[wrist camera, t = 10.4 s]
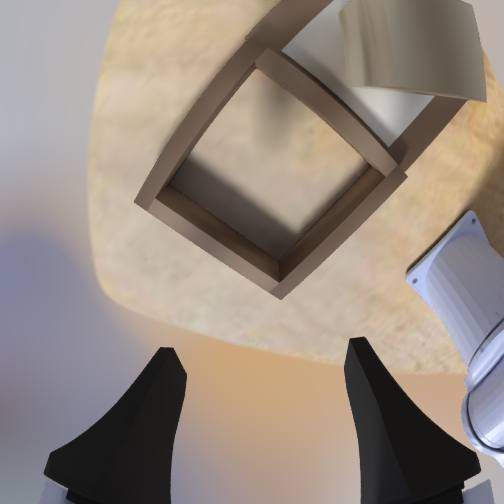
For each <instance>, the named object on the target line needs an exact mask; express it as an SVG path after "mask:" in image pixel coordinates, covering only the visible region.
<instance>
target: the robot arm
mask: <svg viewBox="0 0 504 504" xmlns="http://www.w3.org/2000/svg"><path fill="white" fill-rule="evenodd" d="M472 220H473V221H472ZM405 278H406V280H407V282H408V283H409V284H410V285H411V286H412V287H413V288H414V289H415V290H416V291H417V293H418V294H419V295H420V296H421V297H422V298H423V299H424V300H425V301H426V303H427V304H428V305H429V306H430V307H431V308H432V309H433V310H434V312H435V313H436V314H437V315H438V316H439V317H440V319H441V320H442V322H443V323H444V325H445V327H446V329H447V331H448V332H449V334H450V336H451V338H452V340H453V342H454V344H455V345H456V347H457V349H458V351H459V353H460V355H461V357H462V359H463V361H464V363H465V365H466V367H467V370H468V372H469V373H468V375H467V376H466V378H465V379H464V383H465V385H466V388H467V390H468V392H467V393H466V395H465V397H464V399H463V403H462V408H461V418H462V425H463V428H464V431H465V434H466V436H467V438H468V439H469V441H470V442H471V444H472V445H473V446H474V447H475V448H476V449H477V450H479V451H480V452H482V453H485V454H488V455H490V456H492V457H494V458H495V459H496V460H497V461H498V462H499V463H500V464H501V466H502V467H503V468H504V259H503V258H502V257H501V256H500V255H499V254H498V253H497V252H496V251H495V250H494V249H493V248H492V247H491V246H490V243H489V241H488V239H487V237H486V234H485V232H484V230H483V228H482V226H481V224H480V222H479V220H478V217H477V215H476V214H475V212H474V211H473V210H468V211H467V212H466V213H465V215H464V216H463V217H462V218H461V219H460V220H459V221H458V222H457V223H456V225H455V226H454V227H453V228H452V229H451V230H450V231H449V232H448V233H447V234H446V235H445V236H444V237H443V238H442V239H441V240H440V241H439V242H438V243H437V244H436V245H435V246H434V247H433V248H432V249H431V250H430V251H429V252H428V253H427V254H426V255H425V256H424V257H423V258H422V259H421V260H420V261H419V262H418V263H417V264H416V265H415V266H414V267H413V268H412V269H411V270H409V271H408V272H407V274H406V276H405ZM415 278H416V279H415ZM413 279H415V280H413ZM344 373H345V380H346V388H347V393H348V397H349V401H350V406H351V410H352V413H353V418H354V422H355V427H356V431H357V437H358V444H359V455H360V470H361V504H494V498H493V493H492V487H491V482H490V480H486V481H484V482H482V483H480V484H479V485H477V486H475V487H473V488H471V489H468V490H466V491H463V492H462V490H461V489H463V488H464V487H465V486H464V481H465V480H467V479H469V478H471V477H473V476H475V475H477V474H479V473H480V472H481V467H480V463H479V459H478V457H477V454H476V452H474V451H472V450H470V449H469V448H467V447H466V446H464V445H462V444H461V443H459V442H458V441H457V440H455V439H454V438H453V437H451V436H450V435H448V434H447V433H446V432H445V431H444V430H442V429H441V428H440V427H439V426H438V425H436V424H435V423H434V422H433V421H431V419H430V418H429V417H427V416H426V415H425V414H424V413H423V412H422V411H421V410H420V409H419V408H418V407H417V406H416V405H415V404H414V402H413V401H412V400H411V399H410V398H409V397H408V396H407V394H406V393H405V392H404V391H403V390H402V388H401V387H400V386H399V385H398V383H397V382H396V381H395V380H394V378H393V377H392V376H391V374H390V373H389V372H388V370H387V369H386V367H385V366H384V365H383V363H382V362H381V360H380V359H379V357H378V356H377V354H376V353H375V351H374V350H373V348H372V347H371V345H370V344H369V342H368V340H367V339H366V338H365V337H357V338H350V339H349V345H348V350H347V355H346V360H345V365H344ZM186 380H187V374H186V372H185V370H184V368H183V366H182V364H181V362H180V360H179V358H178V357H177V354H176V352H175V350H174V348H169V347H167V348H165V347H160V348H159V350H158V351H157V352H156V353H155V355H154V356H153V357H152V359H151V360H150V362H149V363H148V364H147V366H146V367H145V368H144V370H143V371H142V372H141V374H140V375H139V376H138V377H137V379H136V380H135V381H134V383H133V384H132V385H131V386H130V388H129V389H128V390H127V391H126V392H125V394H124V395H123V396H122V397H121V398H120V400H119V401H118V402H117V403H116V404H115V405H114V406H113V407H112V408H111V409H110V410H109V411H108V412H107V413H106V414H105V415H104V416H103V417H102V418H101V419H100V420H99V421H97V422H96V423H95V424H94V425H93V426H91V427H90V428H89V429H88V430H87V431H85V432H84V433H82V434H81V435H80V436H78V437H77V438H75V439H74V440H72V441H71V442H69V443H68V444H66V445H64V446H62V447H61V448H59V449H57V450H55V451H53V452H51V453H50V455H49V458H48V461H47V464H46V467H45V470H44V475H45V476H47V477H48V478H50V479H52V480H53V481H55V482H57V483H59V484H61V485H63V486H64V487H66V488H68V490H67V489H65V488H62V487H60V486H59V485H57V484H55V483H53V482H51V481H49V480H46V481H45V484H44V488H43V491H42V495H41V499H40V502H39V504H171V494H170V486H171V484H170V483H171V482H170V481H171V463H172V451H173V444H174V438H175V434H176V430H177V426H178V422H179V418H180V413H181V409H182V405H183V401H184V397H185V390H186Z"/></svg>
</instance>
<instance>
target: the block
mask: <svg viewBox="0 0 504 504" xmlns="http://www.w3.org/2000/svg"><path fill="white" fill-rule="evenodd" d="M338 16H339V22H340V27H341V33H342V40H343V46H344V54H345V61H346V69H347V79H348V88H357V89H374V90H387V91H397V92H405V93H413V94H420V95H433V96H444V97H453V98H461V99H468V100H474V101H480V102H486V103H487V98H486V82H485V71H484V63H483V55H482V49H481V43H480V37H479V32H478V28H477V23H476V19H475V15H474V11H473V8H472V5H470V4H468V3H466V2H463V1H461V0H351V1H350V2H349V3H348V4H347V5H346V6H345V7H344V8H343V9H342V10H341V11H340V12H339V13H338Z"/></svg>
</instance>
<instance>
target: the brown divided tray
mask: <svg viewBox="0 0 504 504" xmlns="http://www.w3.org/2000/svg"><path fill="white" fill-rule="evenodd" d="M350 1H351V0H282V1H281V2H280V3H279V4H278V5H277V6H276V7H274V8H273V9H272V10H271V11H270V12H269V13H268V14H267V15H266V16H265V17H264V18H263V19H262V20H261V21H260V22H259V23H258V24H257V25H256V26H255V27H254V28H253V29H252V31H251V32H250V33H249V34H248V35H247V36H246V37H245V40H246V42H245V43H244V44H243V45H242V47H241V48H240V49H239V50H238V51H237V52H236V53H235V55H234V56H233V57H232V58H231V59H230V60H229V62H228V63H227V64H226V65H225V66H224V68H223V69H222V70H221V71H220V72H219V74H218V75H217V76H216V77H215V79H214V80H213V81H212V82H211V84H210V85H209V86H208V88H207V89H206V90H205V91H204V93H203V94H202V95H201V97H200V98H199V99H198V101H197V102H196V103H195V105H194V106H193V108H192V109H191V110H190V112H189V113H188V115H187V116H186V117H185V119H184V120H183V122H182V123H181V125H180V126H179V128H178V129H177V131H176V132H175V134H174V135H173V137H172V138H171V140H170V141H169V143H168V144H167V146H166V147H165V149H164V151H163V152H162V154H161V155H160V157H159V159H158V160H157V162H156V164H155V165H154V167H153V169H152V170H151V172H150V174H149V175H148V177H147V179H146V181H145V182H144V184H143V186H142V188H141V189H140V191H139V193H138V195H137V197H136V199H135V200H134V203H136V204H137V205H139V206H140V207H141V208H143V209H144V210H146V211H147V212H149V213H150V214H152V215H153V216H154V217H156V218H157V219H159V220H160V221H162V222H163V223H165V224H166V225H168V226H169V227H170V228H172V229H173V230H175V231H176V232H178V233H179V234H181V235H182V236H184V237H185V238H187V239H188V240H190V241H191V242H193V243H194V244H196V245H197V246H199V247H200V248H202V249H203V250H205V251H206V252H208V253H209V254H211V255H212V256H214V257H215V258H217V259H218V260H220V261H221V262H223V263H224V264H226V265H227V266H229V267H230V268H232V269H233V270H235V271H236V272H238V273H239V274H241V275H242V276H244V277H246V278H247V279H249V280H250V281H252V282H253V283H255V284H256V285H258V286H259V287H261V288H263V289H264V290H266V291H267V292H269V293H270V294H272V295H273V296H275V297H277V298H278V299H280V300H282V299H283V298H284V297H285V296H286V295H287V294H289V293H290V292H291V291H292V290H293V289H294V288H295V287H296V286H297V285H299V284H300V283H301V282H302V281H303V280H304V279H305V278H306V277H307V276H308V275H310V274H311V273H312V272H313V271H314V270H315V269H316V268H317V267H318V266H319V265H320V264H321V263H322V262H324V261H325V260H326V259H327V258H328V257H329V256H330V255H331V254H332V253H333V252H334V251H335V250H336V249H337V248H338V247H339V246H340V245H341V244H342V243H344V242H345V241H346V240H347V239H348V238H349V237H350V236H351V235H352V234H353V233H354V232H355V231H356V230H357V229H358V228H359V227H360V226H361V225H362V224H363V223H364V222H365V221H366V220H367V219H368V218H369V217H370V216H371V215H372V214H373V213H374V212H375V211H376V210H377V209H378V208H379V207H380V206H381V205H382V204H383V203H384V202H385V201H386V200H387V198H388V197H389V196H390V195H391V194H392V193H393V192H394V191H395V190H396V189H397V188H398V187H399V186H400V185H401V184H402V183H403V182H404V181H405V179H406V178H407V177H408V176H407V175H406V174H405V173H404V172H405V171H406V170H407V169H408V168H409V167H410V166H411V165H412V164H413V163H414V161H415V160H416V159H417V158H418V157H419V156H420V155H421V154H422V153H423V151H424V150H425V149H426V148H427V147H428V146H429V145H430V144H431V142H432V141H433V140H434V139H435V138H436V137H437V136H438V134H439V133H440V132H441V131H442V130H443V129H444V127H445V126H446V125H447V124H448V123H449V122H450V120H451V119H452V118H453V117H454V116H455V114H456V113H457V112H458V111H459V110H460V108H461V107H462V106H463V105H464V103H465V102H466V101H467V100H468V99H461V98H453V97H444V96H433V95H420V94H413V93H405V92H397V91H387V90H374V89H357V88H348V79H347V69H346V61H345V54H344V46H343V40H342V33H341V27H340V22H339V16H338V13H339V12H340V11H341V10H342V9H343V8H344V7H345V6H346V5H347V4H348V3H349V2H350ZM256 68H257V69H259V70H260V71H262V72H263V73H265V74H266V75H267V76H269V77H270V78H271V79H273V80H274V81H276V82H277V83H278V84H280V85H281V86H282V87H284V88H285V89H286V90H287V91H289V92H290V93H291V94H293V95H294V96H295V97H296V98H298V99H299V100H300V101H301V102H303V103H304V104H305V105H306V106H307V107H309V108H310V109H311V110H312V111H313V112H314V113H316V114H317V115H318V116H319V117H320V118H321V119H323V120H324V121H325V122H326V123H327V124H328V125H329V126H330V127H332V128H333V129H334V130H335V131H336V132H337V133H338V134H339V135H340V136H341V137H342V138H343V139H344V140H345V141H347V142H348V143H349V144H350V145H351V146H352V147H353V148H354V149H355V150H356V151H357V152H358V153H359V154H360V155H361V156H362V157H363V158H364V159H365V160H366V161H367V162H368V163H369V164H370V167H369V168H368V169H367V170H366V171H365V173H364V174H363V175H362V176H361V177H360V178H359V179H358V180H357V181H356V182H355V183H354V184H353V185H352V186H351V187H350V188H349V189H348V190H347V192H346V193H345V194H344V195H343V196H342V197H341V198H340V199H339V200H338V201H337V202H336V203H335V204H334V205H333V206H332V207H331V208H330V209H329V210H328V211H327V212H326V213H325V214H324V215H323V216H322V217H321V218H320V220H319V221H318V222H317V223H316V224H315V225H314V226H313V227H312V228H311V229H310V230H309V231H308V232H307V233H306V234H305V235H304V236H303V237H302V238H301V239H300V240H299V241H298V242H297V243H296V244H295V245H294V246H293V247H292V248H291V249H290V250H289V251H288V252H287V253H286V254H285V255H284V256H283V257H282V258H281V259H280V260H279V261H277V260H276V259H274V258H273V257H272V256H270V255H269V254H267V253H266V252H264V251H263V250H262V249H260V248H259V247H257V246H256V245H254V244H253V243H252V242H250V241H249V240H247V239H246V238H245V237H243V236H242V235H240V234H239V233H237V232H236V231H235V230H233V229H232V228H230V227H229V226H227V225H226V224H225V223H223V222H222V221H220V220H219V219H217V218H216V217H215V216H213V215H212V214H210V213H209V212H207V211H206V210H204V209H203V208H202V207H200V206H199V205H197V204H196V203H194V202H193V201H192V200H190V199H189V198H187V197H186V196H184V195H183V194H181V193H180V192H179V191H177V190H176V189H174V188H173V187H171V186H170V185H169V184H170V182H171V180H172V179H173V177H174V176H175V174H176V173H177V171H178V170H179V168H180V167H181V165H182V164H183V162H184V161H185V159H186V158H187V156H188V155H189V154H190V152H191V151H192V149H193V148H194V146H195V145H196V144H197V142H198V141H199V139H200V138H201V137H202V135H203V134H204V132H205V131H206V130H207V128H208V127H209V126H210V124H211V123H212V122H213V120H214V119H215V118H216V116H217V115H218V114H219V112H220V111H221V110H222V109H223V107H224V106H225V105H226V104H227V102H228V101H229V100H230V99H231V97H232V96H233V95H234V94H235V92H236V91H237V90H238V89H239V87H240V86H241V85H242V84H243V83H244V82H245V80H246V79H247V78H248V77H249V76H250V75H251V73H252V72H253V71H254V70H255V69H256Z"/></svg>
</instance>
